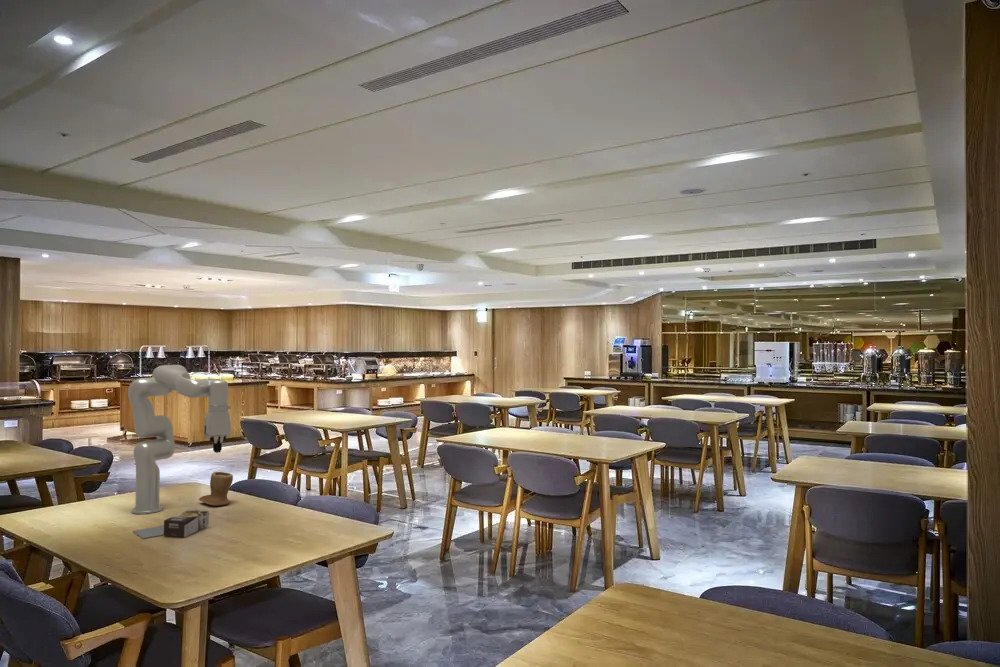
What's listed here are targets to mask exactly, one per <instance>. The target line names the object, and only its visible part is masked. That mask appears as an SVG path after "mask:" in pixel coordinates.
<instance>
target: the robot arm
mask: <svg viewBox="0 0 1000 667" xmlns="http://www.w3.org/2000/svg"><path fill="white" fill-rule="evenodd" d="M228 383H229V382H228V381H227V380H225V379H224V380H222V379H220V380H219V379H217V380H216V379H212V378H211V379H210V378H209V379H208V378H207V379H191V375H190V373H189V372H188V370H187V368H186V367H184V366H183V365H181V364H163V365H162V364H161V365H158V366H157V367H155V368H154V369H153V371H152V377H142V378H137V379H135V380H133V381H131V383H130V384H129V386H128V389H127V396H128V399H129V403H130V406H131V410H132V419H133V427H134V432H135V435H136V437H138V438H141V439H144V438H154V437H156V439H149V440H144V441H141V442H138V443H137V444H136V445H135V446H134V448H133V459H134V462H135V500H134V501H135V502H134V503H135V506H134V507H133V508H131V513H132V514H135V515H144V514H145V515H146V514H154V513H157V512H161V511H162V510H164V506H163V505H162V504H161V505H160V487H161V486H160V483H161V480H160V477H161V475H160V473H161V472H160V467H159V466H158V464H157V462H156V461H160V460H166V459H170V458H172V456H174V453H175V449H176V445H175V437H174V436H175V435H174V429H173V423H172V421H171V419H170V418H169V417H168V416H166V415H162V414H161V415H159V414H158V415H155V412H154V408H155V407H154V405H153V403H152V402H151V400H150V399H148V398H147V397H159V396H167V395H169V394H171V393H172V392H174V391H176V393H177V394H179V395H181V396H185V397H187V398H194V399H195V398H206V397H207V398H208V412H206V413H205V417H204V423H203V435H204V438H203V439H204V440H209V441H210V442H211V443H212V444H213V445H212V449H213V450H212V451H213V452H214V453H216V454H218V453H220V454H221V451H222V449H223V448H222V447H223V446H222V445H223V444H222V443H223V442H224V441H225V440H226V439H228V438H231V431H232V426H231V424H232V423H231V416H230V415H231V414H230V412H229V410H231V409H232V407H231V405H229V404H228V403H229V402H228V400H229V398H228V397H229V384H228ZM217 437H218V438H217Z"/></svg>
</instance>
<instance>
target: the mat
mask: <svg viewBox="0 0 1000 667" xmlns="http://www.w3.org/2000/svg"><path fill="white" fill-rule="evenodd" d="M132 531H133V532H134V533H133V532H132V533H133V534H135V533H136V534H137V535H136V534H135V535H136V536H138V537H139V536H140V537H141V540H145V539H146V538H147V539H152V538H156V537H162V536H164V525H159V526H152V527H146V528H142V529H136V530H135V529H134V530H132ZM140 537H139V538H140ZM147 539H146V540H147Z"/></svg>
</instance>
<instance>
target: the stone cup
mask: <svg viewBox="0 0 1000 667" xmlns="http://www.w3.org/2000/svg"><path fill="white" fill-rule="evenodd" d="M233 480H234V474H232V473H229V472H224V471H214V472H213V473H211V475H210V480H209V481H210V482H209V486H210V494H206V495H202V496H200V497H199V498H198V501H200V502H202V503H204V504H207V505H210V506H215V507H216V506H224V505H228V504H230V503H231V501H230V500H229V499H228V493H229V491H230V489H231V486H232V484H233Z"/></svg>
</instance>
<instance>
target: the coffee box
mask: <svg viewBox="0 0 1000 667" xmlns="http://www.w3.org/2000/svg"><path fill="white" fill-rule="evenodd" d="M209 521H210V511H209V510H204V509H196V508H195V509H194V508H188V509H186V510H184V511H182V512H179V513H177V514H175V515H173V516H171V517H169V518H166V519H164V520H163V526H164V535H163V536H164V537H172V538H182V539H183V538H186V537H188V536H190V535H192V534H194V533H197V532H198V531H200V530H202V529H204V528H206V527H208V526H209V524H210V522H209Z"/></svg>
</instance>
